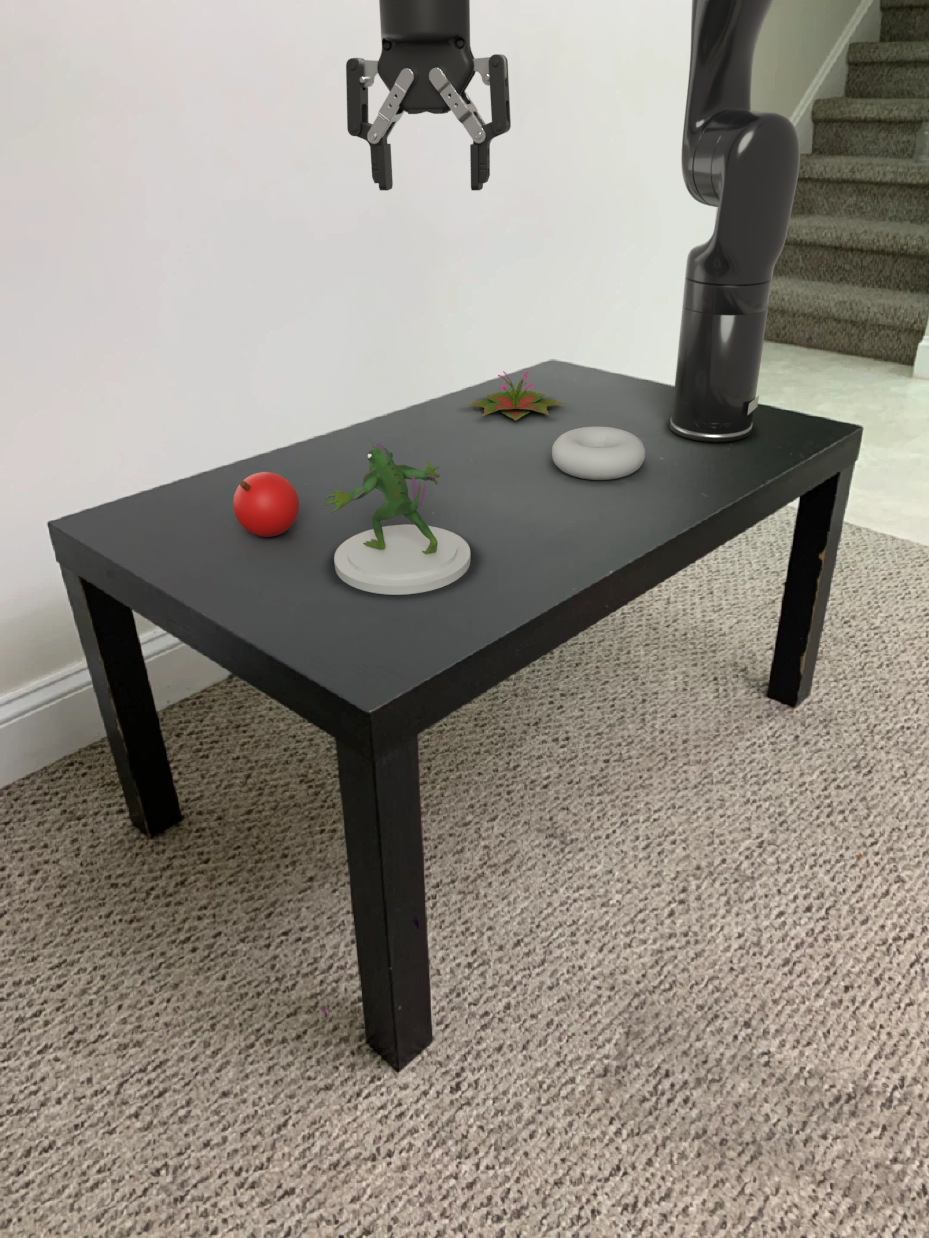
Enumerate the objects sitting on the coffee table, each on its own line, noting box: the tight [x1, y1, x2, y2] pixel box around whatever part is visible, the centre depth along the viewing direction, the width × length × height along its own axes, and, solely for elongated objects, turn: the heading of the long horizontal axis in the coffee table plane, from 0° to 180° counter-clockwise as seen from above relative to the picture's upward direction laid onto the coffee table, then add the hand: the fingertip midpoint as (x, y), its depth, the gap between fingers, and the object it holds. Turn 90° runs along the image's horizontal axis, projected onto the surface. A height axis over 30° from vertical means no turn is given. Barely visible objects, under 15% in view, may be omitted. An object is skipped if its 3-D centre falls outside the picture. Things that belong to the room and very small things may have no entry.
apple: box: [232, 471, 300, 538], centre depth 87 cm, size 6×6×7 cm
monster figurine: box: [323, 438, 472, 596], centre depth 81 cm, size 12×12×10 cm
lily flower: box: [467, 370, 566, 421], centre depth 118 cm, size 12×12×5 cm
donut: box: [551, 426, 646, 481], centre depth 101 cm, size 10×4×10 cm
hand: (430, 189), depth 85 cm, fingers open, 8 cm apart
